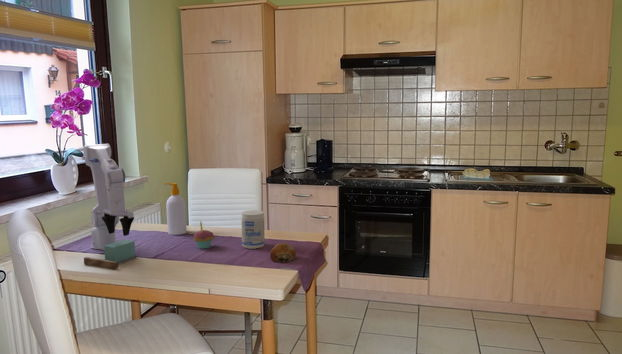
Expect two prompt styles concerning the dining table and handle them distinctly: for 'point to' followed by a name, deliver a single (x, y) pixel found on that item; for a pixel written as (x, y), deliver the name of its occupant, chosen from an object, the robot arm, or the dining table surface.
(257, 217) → the supplement tub
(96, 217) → the robot arm
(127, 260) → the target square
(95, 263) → the stopper strip
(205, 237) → the cupcake
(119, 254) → the teal rectangular box
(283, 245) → the bread roll
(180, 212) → the soap bottle
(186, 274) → the dining table surface
